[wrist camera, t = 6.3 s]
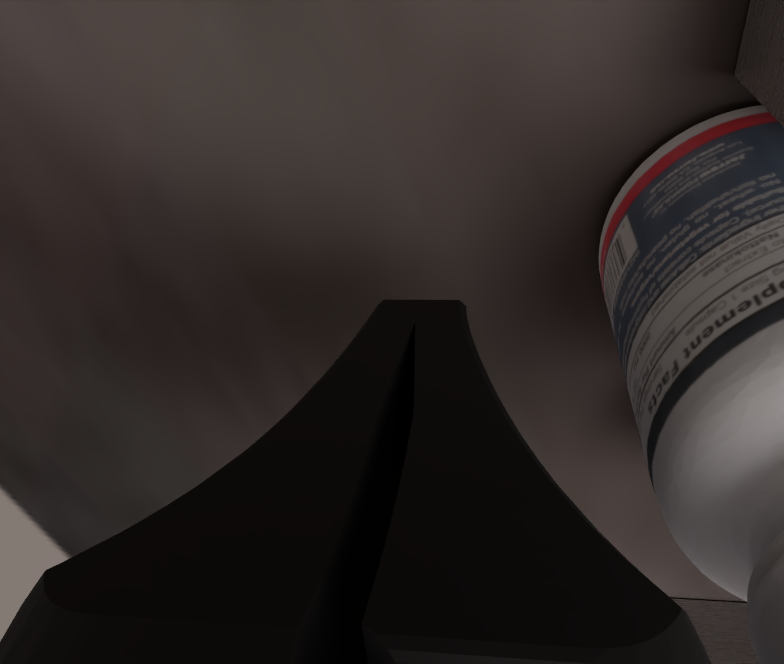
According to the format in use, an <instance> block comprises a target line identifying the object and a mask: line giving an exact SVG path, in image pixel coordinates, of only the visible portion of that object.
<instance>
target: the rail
mask: <svg viewBox="0 0 784 664" xmlns="http://www.w3.org/2000/svg"><path fill="white" fill-rule="evenodd" d="M734 76H735V77H736V78H737V79H738V80H739V82H740V83H741V84H742V85H743V86H744V87H745V88H746V89H747V90H748V91H749V92H750V93H751V94H752V95H753V96H754V97H755V98H756V99H757V100H758V101H759V102H760V103H761V104H762V105H763V106H764V107H765V108H766V109H767V110H768V111H769V112H770V113H771V114H772V115H773V116H774V117H775V119H776V120H777V121H778V122H779V123H780V124H781V125H782V126H783V127H784V0H750V3H749V8H748V12H747V17H746V22H745V27H744V31H743V36H742V41H741V45H740V50H739V55H738V60H737V64H736V69H735V74H734ZM672 600H673V601H674V602H676V603H677V604H678V605H679V606H680V607H681V608H683V609H684V610H685V611H686V612H687V614H688V616H689V618H690V620H691V622H692V624H693V626H694V628H695V630H696V632H697V634H698V636H699V638H700V640H701V641H702V643H703V645H704V647H705V650H706V652H707V654H708V656H709V659H710V661H711V663H712V664H760V662H759V660H758V658H757V656H756V654H755V651H754V649H753V647H752V644H751V642H750V638H749V632H748V625H747V622H748V613H749V610H748V605H747V603H738V602H721V601H704V600H688V599H672Z"/></svg>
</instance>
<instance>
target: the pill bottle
mask: <svg viewBox="0 0 784 664" xmlns="http://www.w3.org/2000/svg"><path fill="white" fill-rule="evenodd" d="M599 272H600V277H601V282H602V290H603V294H604V298H605V302H606V305H607V309H608V313H609V317H610V322H611V326H612V330H613V334H614V338H615V342H616V345H617V349H618V353H619V357H620V361H621V365H622V369H623V373H624V377H625V381H626V384H627V388H628V392H629V396H630V400H631V403H632V407H633V411H634V416H635V420H636V424H637V428H638V431H639V435H640V439H641V443H642V447H643V451H644V455H645V459H646V463H647V466H648V470H649V474H650V478H651V482H652V485H653V488H654V491H655V494H656V497H657V500H658V503H659V506H660V509H661V512H662V515H663V517H664V520H665V522H666V524H667V527H668V529H669V531H670V532H671V534H672V536H673V538H674V539H675V541H676V543H677V545H678V546H679V547H680V549H681V550H682V551H683V552H684V553H685V555H686V556H687V557H688V558H689V559H690V561H691V562H692V563H693V564H694V565H695V566H696V567H697V568H698V569H699V570H700V571H701V572H702V573H703V574H704V575H705V576H707V577H708V578H709V579H710V580H712V581H713V582H714V583H716V584H717V585H719V586H720V587H722V588H723V589H725V590H727V591H728V592H730V593H731V594H733V595H735V596H737V597H739V598H741V599H743V600H745V601H747V605H748V610H749V613H748V622H747V625H748V632H749V638H750V642H751V644H752V647H753V649H754V651H755V654H756V656H757V658H758V660H759V662H760V664H784V127H783V126H782V125H781V124H780V123H779V122H778V121H777V120H776V119H775V117H774V116H773V115H772V114H771V113H770V112H769V111H768V110H767V109H766V108H765V107H764V106H763V105H759V106H752V107H747V108H742V109H738V110H734V111H730V112H727V113H724V114H721V115H718V116H715V117H713V118H710V119H708V120H706V121H703V122H701V123H699V124H697V125H695V126H693V127H691V128H689V129H687V130H686V131H684V132H682V133H681V134H679V135H677V136H676V137H674V138H673V139H671V140H670V141H668V142H667V143H665V144H664V145H663V146H661V147H660V148H659V149H658V150H657V151H655V152H654V153H653V154H652V155H651V156H650V157H648V158H647V159H646V160H645V161H644V162H643V163H642V164H641V165H640V166H639V167H638V168H637V170H636V171H635V172H634V173H633V174H632V175H631V177H630V178H629V179H628V180H627V182H626V183H625V184H624V186H623V187H622V189H621V190H620V192H619V193H618V195H617V197H616V198H615V200H614V202H613V204H612V206H611V208H610V210H609V212H608V215H607V218H606V220H605V223H604V226H603V230H602V234H601V239H600V246H599Z"/></svg>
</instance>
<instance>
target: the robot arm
mask: <svg viewBox="0 0 784 664" xmlns="http://www.w3.org/2000/svg"><path fill="white" fill-rule="evenodd" d="M0 664H712V663H711V661H710V659H709V656H708V654H707V652H706V650H705V647H704V645H703V643H702V641H701V640H700V638H699V636H698V634H697V632H696V630H695V628H694V626H693V624H692V622H691V620H690V618H689V616H688V614H687V612H686V611H685V610H684V609H683V608H681V607H680V606H679V605H678V604H677V603H676V602H674V601H673V600H672V599H671V598H670V597H669V596H667V595H666V594H665V593H664V592H663V591H662V590H660V589H659V588H658V587H657V586H656V585H655V584H653V583H652V582H651V581H650V580H649V579H648V578H647V577H646V576H645V575H643V574H642V573H641V572H640V571H639V570H638V569H637V568H636V567H635V566H634V565H632V564H631V563H630V562H629V561H628V560H627V559H626V558H625V557H624V556H623V555H622V554H621V553H620V552H619V551H618V550H617V549H616V548H615V547H614V546H613V545H612V544H611V543H610V542H609V541H608V540H607V539H606V538H605V537H604V536H603V535H602V534H601V533H600V532H599V531H598V530H597V529H596V528H595V527H594V526H593V524H592V523H591V522H590V521H589V520H588V519H587V518H586V517H585V515H584V514H583V513H582V512H581V511H580V510H579V509H578V508H577V506H576V505H575V504H574V503H573V502H572V501H571V500H570V498H569V497H568V496H567V495H566V494H565V493H564V492H563V491H562V489H561V488H560V487H559V486H558V485H557V484H556V482H555V481H554V480H553V478H552V477H551V476H550V475H549V473H548V472H547V471H546V469H545V468H544V467H543V465H542V464H541V463H540V461H539V460H538V459H537V457H536V456H535V455H534V453H533V452H532V450H531V449H530V447H529V446H528V445H527V443H526V442H525V440H524V439H523V437H522V436H521V434H520V433H519V431H518V429H517V428H516V426H515V425H514V423H513V421H512V420H511V418H510V416H509V415H508V413H507V411H506V409H505V408H504V406H503V404H502V402H501V401H500V399H499V397H498V395H497V393H496V391H495V389H494V387H493V385H492V383H491V381H490V379H489V377H488V375H487V373H486V370H485V368H484V366H483V364H482V362H481V360H480V357H479V355H478V352H477V350H476V347H475V344H474V341H473V338H472V335H471V332H470V329H469V325H468V320H467V314H466V306H465V305H464V304H463V303H462V302H461V301H460V300H383V301H382V302H381V303H380V304H379V305H378V306H377V307H376V309H375V310H374V312H373V313H372V315H371V316H370V317H369V319H368V320H367V322H366V323H365V324H364V326H363V327H362V328H361V330H360V331H359V333H358V334H357V335H356V336H355V338H354V339H353V340H352V342H351V343H350V344H349V345H348V347H347V348H346V349H345V350H344V352H343V353H342V354H341V355H340V356H339V358H338V359H337V360H336V361H335V362H334V364H333V365H332V366H331V367H330V368H329V370H328V371H327V372H326V373H325V374H324V375H323V377H322V378H321V379H320V380H319V381H318V382H317V383H316V384H315V385H314V386H313V387H312V388H311V389H310V390H309V392H308V393H307V394H306V395H305V396H304V397H303V398H302V399H301V400H300V401H299V402H298V403H297V404H296V405H295V406H294V407H293V408H292V409H291V410H290V411H289V412H288V413H287V414H286V415H285V416H284V417H283V418H282V419H281V420H280V421H279V422H278V423H277V424H276V425H274V426H273V427H272V428H271V429H270V430H269V431H268V432H267V433H265V434H264V435H263V436H262V437H261V438H260V439H259V440H257V441H256V442H255V443H254V444H253V445H252V446H250V447H249V448H248V449H247V450H245V451H244V452H243V453H242V454H240V455H239V456H238V457H236V458H235V459H234V460H232V461H231V462H229V463H228V464H227V465H225V466H224V467H223V468H221V469H220V470H219V471H217V472H216V473H214V474H213V475H212V476H210V477H209V478H208V479H206V480H205V481H204V482H202V483H201V484H199V485H198V486H196V487H195V488H193V489H192V490H190V491H189V492H187V493H186V494H184V495H183V496H181V497H179V498H178V499H176V500H175V501H173V502H172V503H170V504H168V505H167V506H165V507H164V508H162V509H160V510H158V511H157V512H155V513H153V514H152V515H150V516H148V517H147V518H145V519H143V520H142V521H140V522H138V523H137V524H135V525H133V526H131V527H129V528H128V529H126V530H124V531H122V532H121V533H119V534H117V535H115V536H113V537H111V538H109V539H107V540H105V541H103V542H101V543H99V544H97V545H95V546H93V547H91V548H89V549H88V550H86V551H84V552H82V553H80V554H78V555H76V556H74V557H72V558H70V559H68V560H66V561H64V562H62V563H60V564H58V565H56V566H54V567H52V568H50V569H48V570H46V571H45V572H44V573H43V575H42V576H41V578H40V579H39V581H38V582H37V583H36V585H35V586H34V588H33V589H32V591H31V592H30V594H29V595H28V597H27V598H26V599H25V601H24V603H23V604H22V605H21V607H20V609H19V611H18V612H17V614H16V616H15V618H14V619H13V621H12V623H11V624H10V626H9V628H8V629H7V631H6V633H5V635H4V636H3V638H2V640H1V641H0Z"/></svg>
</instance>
